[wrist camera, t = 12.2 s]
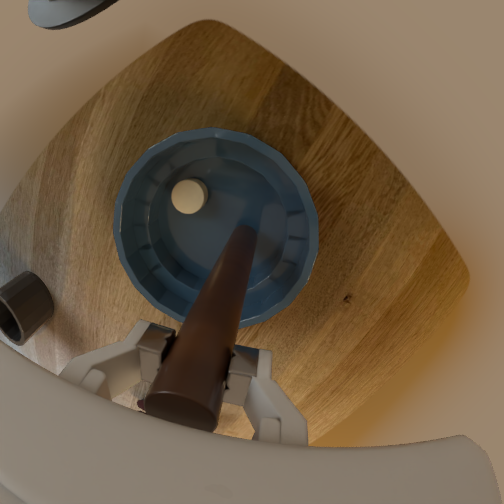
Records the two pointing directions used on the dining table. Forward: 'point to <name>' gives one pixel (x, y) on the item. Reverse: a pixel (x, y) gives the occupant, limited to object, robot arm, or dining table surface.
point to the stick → (205, 342)
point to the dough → (189, 195)
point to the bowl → (215, 221)
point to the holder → (24, 307)
